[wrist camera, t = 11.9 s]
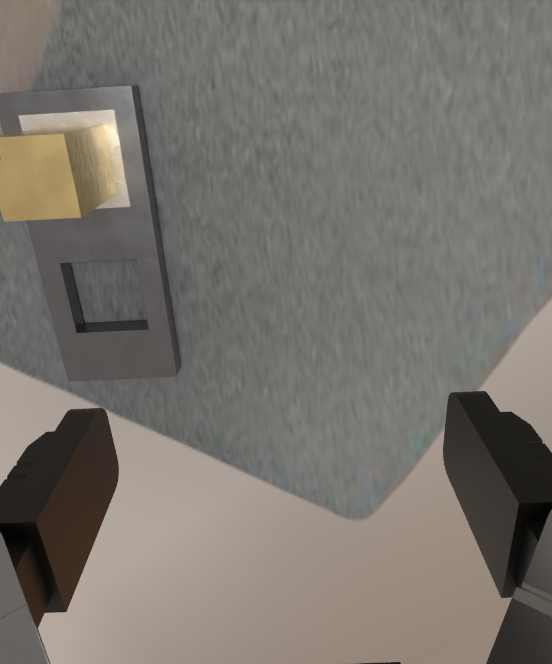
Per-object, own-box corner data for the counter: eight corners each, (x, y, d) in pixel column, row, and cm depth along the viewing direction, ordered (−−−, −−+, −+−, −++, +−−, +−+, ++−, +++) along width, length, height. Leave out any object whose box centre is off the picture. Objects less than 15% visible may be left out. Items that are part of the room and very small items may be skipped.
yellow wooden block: (36, 128, 38) (-20, 138, 31) (104, 124, 38) (63, 133, 31) (52, 197, 40) (3, 221, 33) (116, 194, 40) (81, 217, 33)
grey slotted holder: (6, 93, 39) (-8, 94, 37) (137, 85, 39) (130, 85, 37) (76, 370, 50) (67, 382, 48) (180, 365, 49) (176, 377, 47)
